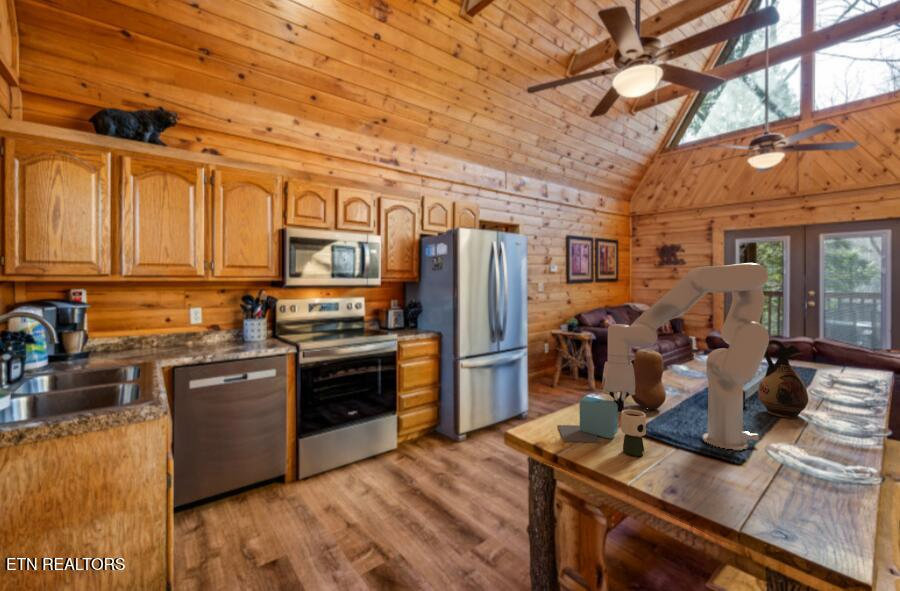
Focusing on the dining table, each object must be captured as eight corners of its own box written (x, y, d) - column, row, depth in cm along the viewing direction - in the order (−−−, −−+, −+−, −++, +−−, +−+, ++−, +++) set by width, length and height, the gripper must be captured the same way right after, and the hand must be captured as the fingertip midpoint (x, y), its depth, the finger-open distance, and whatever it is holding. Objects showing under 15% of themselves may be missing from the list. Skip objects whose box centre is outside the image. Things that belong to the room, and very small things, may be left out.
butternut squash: (672, 409, 169) (672, 350, 168) (655, 415, 161) (655, 354, 160) (640, 401, 180) (640, 346, 179) (623, 406, 173) (623, 349, 172)
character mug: (638, 462, 121) (638, 420, 120) (614, 455, 126) (614, 414, 125) (651, 451, 128) (651, 411, 128) (629, 445, 133) (629, 406, 133)
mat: (590, 426, 150) (590, 425, 150) (600, 443, 135) (600, 441, 135) (557, 425, 152) (557, 424, 152) (563, 441, 137) (563, 440, 137)
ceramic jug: (803, 411, 163) (804, 338, 162) (811, 423, 150) (813, 344, 149) (751, 405, 172) (752, 336, 171) (755, 416, 159) (756, 341, 158)
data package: (617, 434, 141) (617, 401, 140) (614, 439, 137) (614, 406, 136) (583, 426, 148) (583, 395, 147) (579, 431, 145) (579, 399, 143)
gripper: (637, 357, 144) (637, 408, 144) (594, 356, 145) (594, 406, 146) (645, 361, 136) (644, 415, 137) (599, 361, 138) (599, 413, 139)
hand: (618, 410), depth 142 cm, fingers closed
